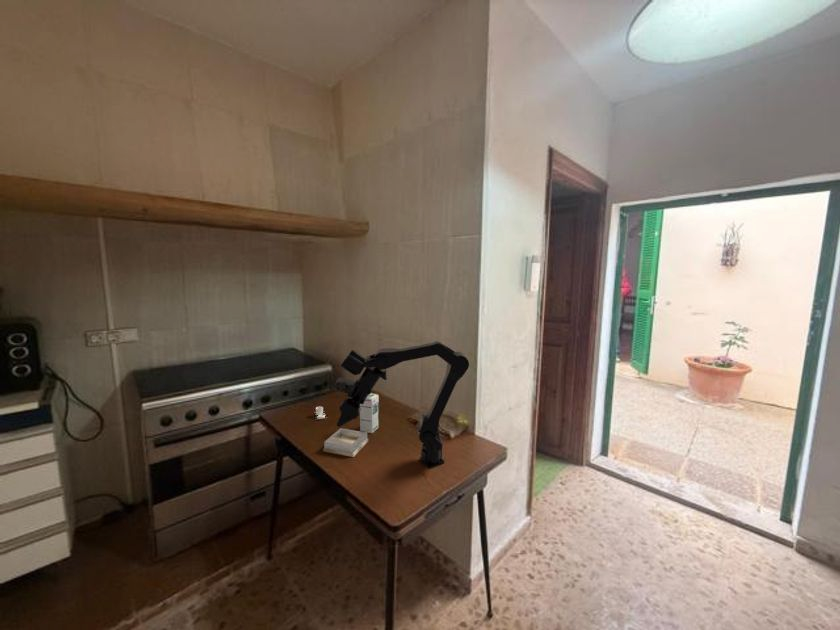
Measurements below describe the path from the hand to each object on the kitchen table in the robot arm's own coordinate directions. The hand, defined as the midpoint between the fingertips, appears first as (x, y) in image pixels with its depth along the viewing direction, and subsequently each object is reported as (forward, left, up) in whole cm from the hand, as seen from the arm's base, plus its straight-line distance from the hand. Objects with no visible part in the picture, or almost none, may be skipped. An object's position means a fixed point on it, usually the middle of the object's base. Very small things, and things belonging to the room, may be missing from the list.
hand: (341, 420), depth 111 cm
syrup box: (-18, -17, -15) cm, 29 cm away
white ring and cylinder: (-2, -40, -15) cm, 43 cm away
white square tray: (-5, -9, -15) cm, 18 cm away
